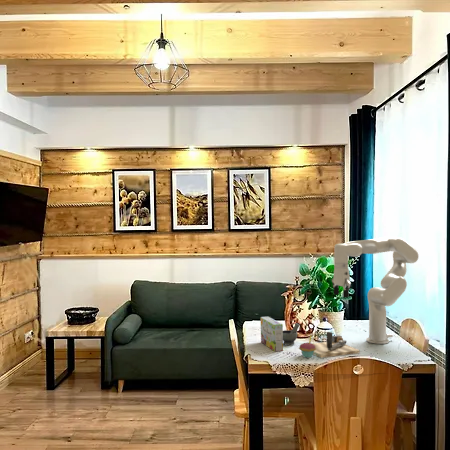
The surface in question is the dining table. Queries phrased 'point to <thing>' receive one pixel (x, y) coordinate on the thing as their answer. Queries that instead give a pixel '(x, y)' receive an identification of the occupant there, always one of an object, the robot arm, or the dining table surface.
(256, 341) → the dining table surface
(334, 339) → the anvil
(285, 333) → the mortar and pestle
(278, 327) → the snack box
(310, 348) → the cupcake
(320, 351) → the board
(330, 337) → the lever
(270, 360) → the dining table surface
